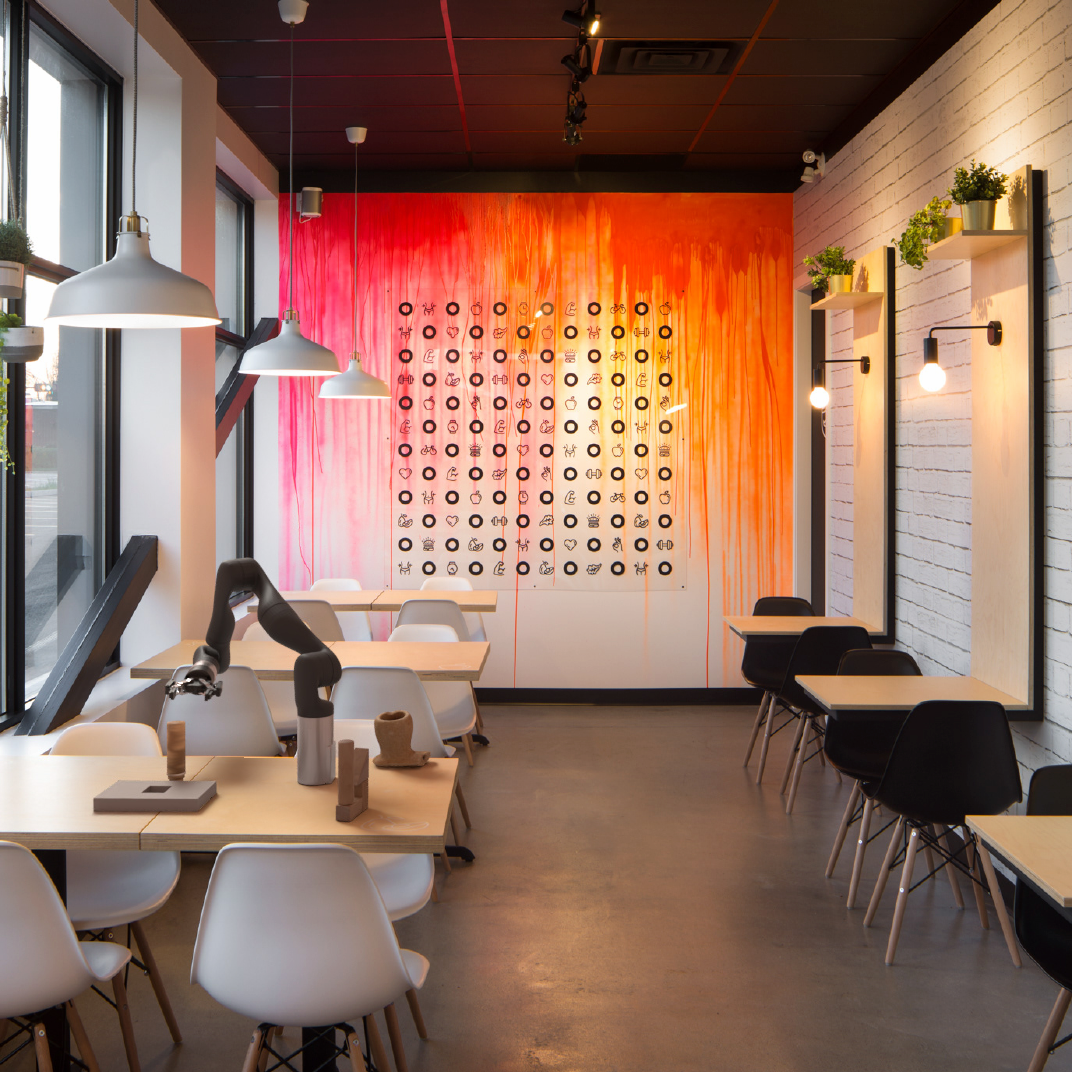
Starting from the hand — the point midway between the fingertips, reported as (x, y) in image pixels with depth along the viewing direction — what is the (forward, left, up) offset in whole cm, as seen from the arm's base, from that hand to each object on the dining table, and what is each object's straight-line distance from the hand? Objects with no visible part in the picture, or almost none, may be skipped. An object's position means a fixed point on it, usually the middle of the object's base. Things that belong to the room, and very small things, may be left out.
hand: (189, 697), depth 253 cm
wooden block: (-48, +31, -21) cm, 61 cm away
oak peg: (0, +10, -20) cm, 23 cm away
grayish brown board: (0, +23, -20) cm, 31 cm away
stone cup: (-54, -9, -21) cm, 59 cm away
